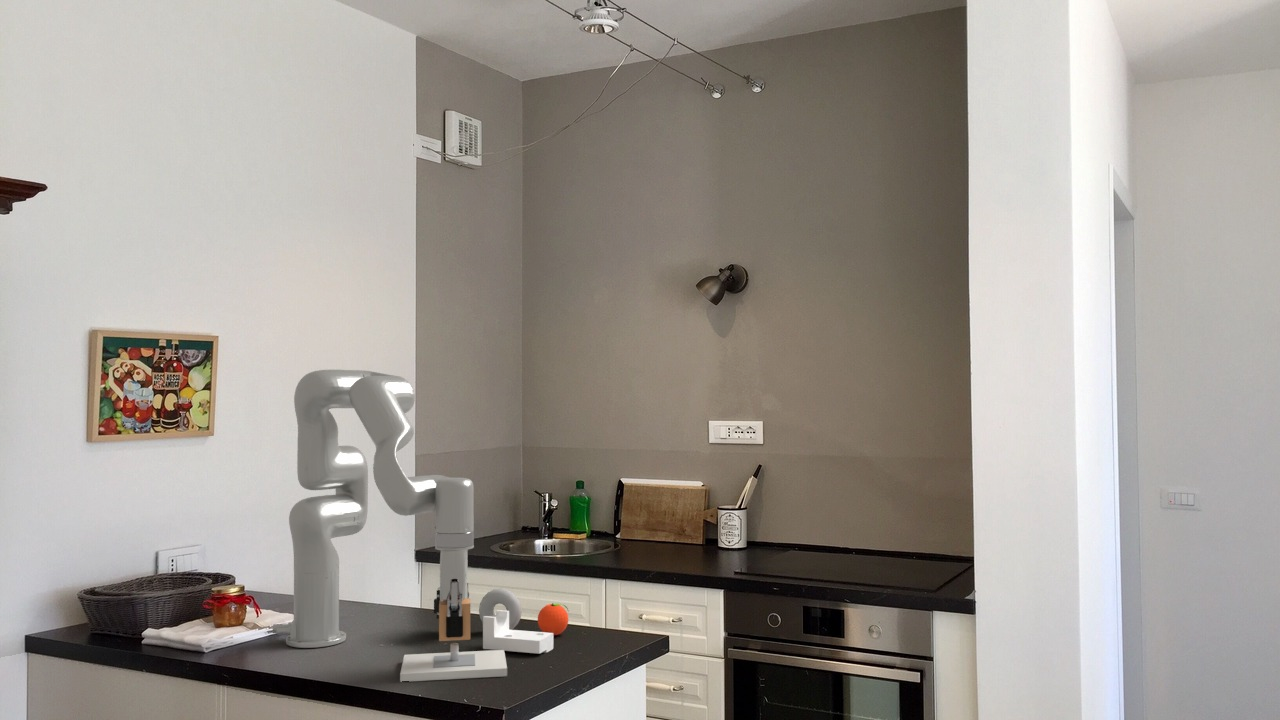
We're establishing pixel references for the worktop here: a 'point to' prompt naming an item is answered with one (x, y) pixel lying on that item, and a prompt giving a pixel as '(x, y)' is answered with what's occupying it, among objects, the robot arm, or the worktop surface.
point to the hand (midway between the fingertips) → (454, 632)
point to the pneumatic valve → (436, 601)
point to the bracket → (513, 636)
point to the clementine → (553, 619)
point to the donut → (501, 598)
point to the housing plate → (453, 665)
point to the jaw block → (465, 621)
